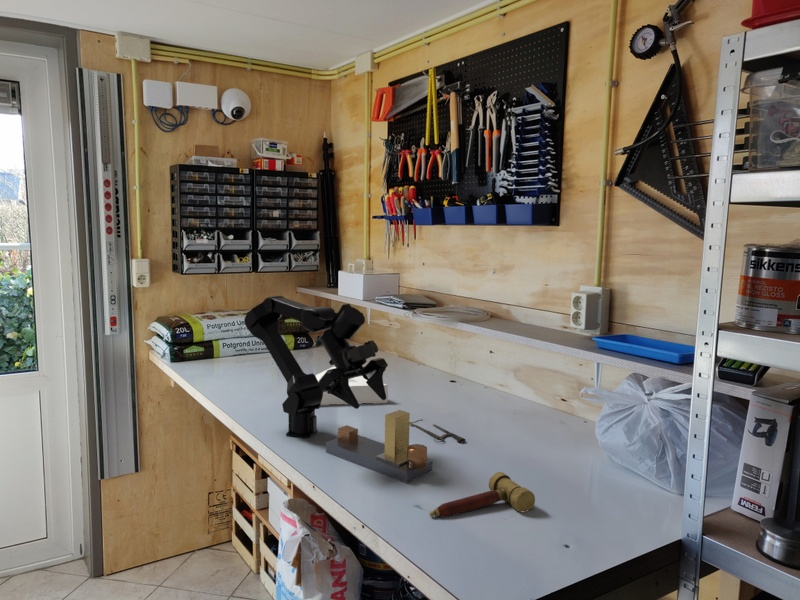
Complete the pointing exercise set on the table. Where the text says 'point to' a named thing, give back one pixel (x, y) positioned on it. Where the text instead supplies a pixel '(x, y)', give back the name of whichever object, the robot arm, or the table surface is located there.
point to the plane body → (379, 455)
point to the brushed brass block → (396, 434)
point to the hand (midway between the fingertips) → (371, 403)
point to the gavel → (491, 497)
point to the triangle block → (354, 392)
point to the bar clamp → (459, 439)
